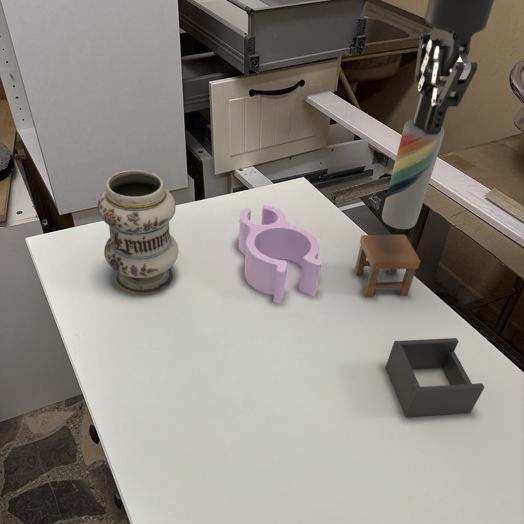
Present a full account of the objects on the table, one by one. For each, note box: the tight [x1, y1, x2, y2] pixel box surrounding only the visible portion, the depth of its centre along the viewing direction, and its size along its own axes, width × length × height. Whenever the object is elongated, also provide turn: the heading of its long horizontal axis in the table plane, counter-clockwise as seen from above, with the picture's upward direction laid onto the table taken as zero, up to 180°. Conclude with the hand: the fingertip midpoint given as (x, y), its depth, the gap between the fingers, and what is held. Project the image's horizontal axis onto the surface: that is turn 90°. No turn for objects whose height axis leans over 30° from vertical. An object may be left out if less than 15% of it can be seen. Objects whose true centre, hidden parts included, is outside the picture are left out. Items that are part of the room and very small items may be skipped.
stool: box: [354, 234, 421, 298], centre depth 91 cm, size 8×8×8 cm
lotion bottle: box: [381, 87, 445, 230], centre depth 78 cm, size 6×6×20 cm
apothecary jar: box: [97, 169, 179, 295], centre depth 85 cm, size 12×12×18 cm
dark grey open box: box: [385, 337, 485, 419], centre depth 75 cm, size 10×10×6 cm
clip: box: [238, 204, 323, 304], centre depth 93 cm, size 20×12×7 cm, turn 22°
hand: (425, 125), depth 74 cm, fingers closed on lotion bottle, 3 cm apart
